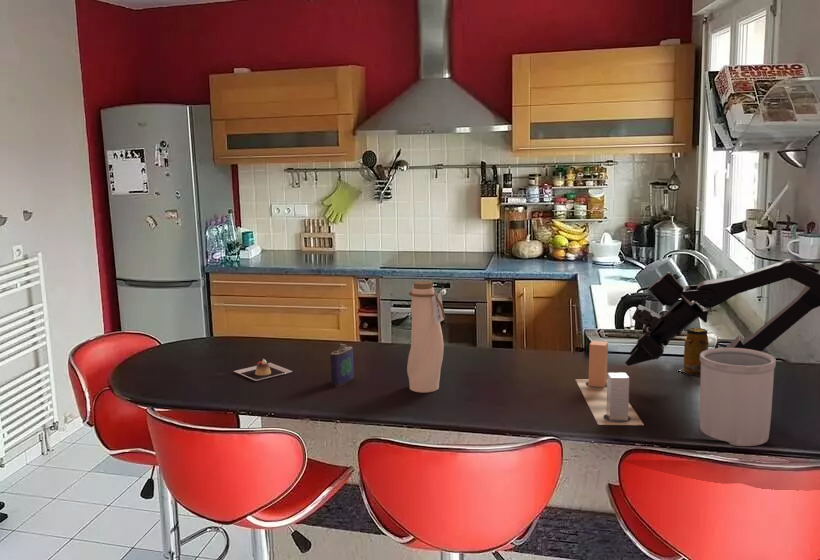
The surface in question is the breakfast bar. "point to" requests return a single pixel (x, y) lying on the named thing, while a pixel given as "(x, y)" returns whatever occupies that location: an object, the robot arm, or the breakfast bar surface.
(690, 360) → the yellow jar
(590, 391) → the template board
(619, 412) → the fixed post
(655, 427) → the breakfast bar surface
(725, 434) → the utensil holder
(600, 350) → the marker post
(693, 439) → the breakfast bar surface
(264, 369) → the dessert
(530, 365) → the breakfast bar surface
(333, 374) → the flask
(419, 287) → the water bottle
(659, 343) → the robot arm
